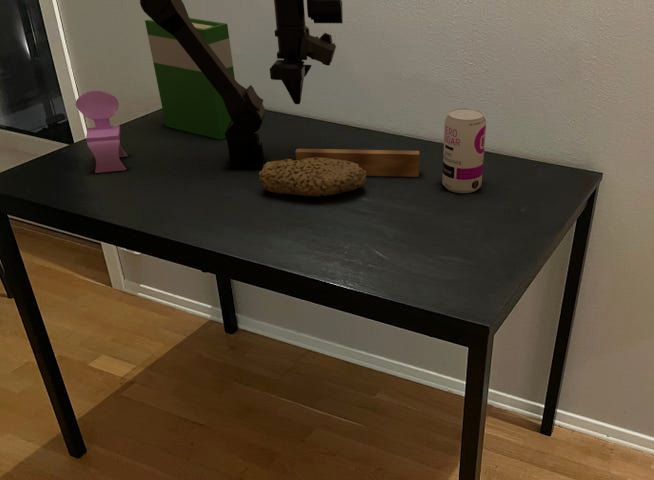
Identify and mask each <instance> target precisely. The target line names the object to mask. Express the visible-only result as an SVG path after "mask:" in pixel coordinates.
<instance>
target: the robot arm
mask: <svg viewBox="0 0 654 480" xmlns="http://www.w3.org/2000/svg"><path fill="white" fill-rule="evenodd" d="M139 4H140V7H141V10H142V11H143V12H144V13H145V15H147V16H148V17H149V18H150V20H153V21H154V22H155V23H156V24H157V25H159V26H160V27H161V28H163V29H164V30H166V31H167V32H169V33H170V34H172V35H173V36H174V37H175V38H176V40H177V41H178V42H179V44H180V45H181V46H182V47H183V49H184V50H185V51H186V52H187V54H188V55H189V56H190V57H191V59H192V60H193V61H194V63H195V64H196V65H197V66H198V68H199V69H200V70H201V71H202V73H203V74H204V75H205V77H206V78H207V79H208V80H209V82H210V83H211V84H212V85H213V87H214V88H215V89H216V90H217V92H218V93H219V94H220V96H221V97H222V99H223V101H224V104H225V106H226V109H227V111H228V114H229V116H230V117H231V121H230V123H229V125H228V128H227V130H226V132H225V136H226V138H225V139H226V141H227V148H228V149H227V150H228V156H229V164H228V169H238V170H239V169H243V170H258V169H259V168H260V167H261V165H262V163H263V161H264V160H265V154H264V147H263V141H262V140H260V135H259V133H258V131H259V130H260V129H261V127H262V124H263V121H264V119H265V115H266V109H265V106H264V104H263V103H264V99H263V98H261V97H260V96H259V95H258V94H257V92H256V90H255V88H254V87H253V86H252V84H250V85H249V86H248V87H247V88H246V87H244V86H242V85H241V84H240V83H239V82H238V81H237V80H236V78H235V79H234V77H235V76H234V77H233V76H232V75H231V74H230V72H229V71H228V70H227V68H226V67H225V66H224V64H223V63H222V62H221V60H220V59H219V58H218V57H217V55H216V54H215V53H214V51H213V50H212V49H211V47H210V46H209V45H208V43H207V42H206V41H205V40H204V38H203V37H202V36H201V34H200V33H199V32H198V30H197V29H196V28H195V26H194V25H193V24H192V22H191V21H190V18H191V17H189V14H188V11H187V9H186V6H185V4H184V2H183V0H139ZM273 4H274V14H275V27H276V29H275V30H274V37H275V38H277V48H278V51H277V52H276V61H275V62H274V63H272V66H271V67H270V68H269V76H270V80H272V81H281V82H282V84H283V85H284V88H285V89H286V91H287V92H288V94H289V97H290V98H291V100H292V102H293V104H294V105H301V101H302V94H303V87H304V80H305V77H306V76H307V75H308V73H309V71H310V70H311V68H312V64H305V61H307V60H308V58H309V59H310V60H315V61H317V62H320V63H321V64H322V65H324V66H327V67H329V66H330V65H332V64H331V63H332V62H333V58H334V55H335V53H336V48H337V45H336V43H335V42H333V37H332V35H331V34H329V33H327V32H324V33H322V35H321V36H318V35H316V36H314V35H311V34H310V33H311V32H310V28H309V27H308V26H307V25H306V13H305V0H273ZM306 11H307V18H309V19H310V20H311V21H313V24H343V23H344V22H343V21H344V16H343V13H344V12H343V0H306Z"/></svg>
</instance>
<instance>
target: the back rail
mask: <svg viewBox="0 0 654 480" xmlns="http://www.w3.org/2000/svg"><path fill="white" fill-rule="evenodd" d="M294 153H295V160H301V159H305V158H315V157H321V158H331V159H338V160H344V161H345V160H346V161H349V162H354V163H357V164H358V165H360V168H362V169H363V170H364V171H366V177H400V178H401V177H403V178H404V177H405V178H406V177H407V178H419V177H420V150H399V149H397V150H395V149H394V150H393V149H392V150H391V149H388V150H387V149H346V148H345V149H343V148H342V149H341V148H339V149H335V148H296V150H295V152H294Z"/></svg>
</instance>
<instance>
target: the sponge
mask: <svg viewBox="0 0 654 480" xmlns="http://www.w3.org/2000/svg"><path fill="white" fill-rule="evenodd" d="M258 176H259V177H258V178H259V180H258V181H259V182H260V185H261V186H262V187H263V190H265V191H266V192H269V193H275V194H281V195H294V196H303V197H304V196H305V197H306V196H307V197H322V196H323V197H326V196H334V195H339V194H343V193H347V192H352V191H354V190H356V189H360V188H361V187H364V186H366V185H367V183H368V181H367V176H366V171H364V170H363V169H362V168H360V165H358V164H357V163H354V162H349V161H346V160H345V161H344V160H338V159H331V158H321V157H315V158H305V159H301V160H296V159H295V160H293V159H292V158H284V159H282V160H272V161H267V162H266V163H265V164H263V167H262V169H261V170H260V171H258Z"/></svg>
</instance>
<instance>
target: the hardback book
mask: <svg viewBox="0 0 654 480" xmlns="http://www.w3.org/2000/svg"><path fill="white" fill-rule="evenodd" d="M189 18H190V21H191V22H192V24H193V25H194V26H195V28H196V29H197V30H198V32H199V33H200V34H201V36H202V37H203V38H204V40H205V41H206V42H207V43H208V45H209V46H210V47H211V49H212V50H213V51H214V53H215V54H216V55H217V57H218V58H219V59H220V60H221V62H222V63H223V64H224V66H225V67H226V68H227V70H228V71H229V72H230V74H231V75H232V76H233V77H234V79H235V80H236V78H235V77H236V76H235V70H234V69H235V68H234V63H233V55H232V48H231V42H230V32H229V25H228V23H226V22H225V23H224V22H218V21H212V20H206V19H199V18H193V17H189ZM144 23H145V29H146V34H147V38H148V45H149V48H150V53H151V59H152V65H153V68H154V73H155V79H156V83H157V88H158V93H159V94H158V95H159V99H160V103H161V108H162V113H163V114H162V115H163V119H164V123H165V127H166V128H171V129H175V130H180V131H184V132H188V133H191V134H196V135H200V136H205V137H208V138H211V139H212V138H213V139H217V140H224V139H227V138H226V136H225V132H226V130H227V128H228V125H229V123H230V121H231V117H230V116H229V114H228V111H227V109H226V106H225V104H224V101H223V99H222V97H221V96H220V94H219V93H218V92H217V90H216V89H215V88H214V87H213V85H212V84H211V83H210V82H209V80H208V79H207V78H206V77H205V75H204V74H203V73H202V71H201V70H200V69H199V68H198V66H197V65H196V64H195V63H194V61H193V60H192V59H191V57H190V56H189V55H188V54H187V52H186V51H185V50H184V49H183V47H182V46H181V45H180V44H179V42H178V41H177V40H176V38H175V37H174V36H173V35H172V34H170V33H169V32H167V31H166V30H164V29H163V28H161V27H160V26H159V25H157V24H156V23H155V22H154V21H153V20H152V19H146V20H145V19H144Z"/></svg>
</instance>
